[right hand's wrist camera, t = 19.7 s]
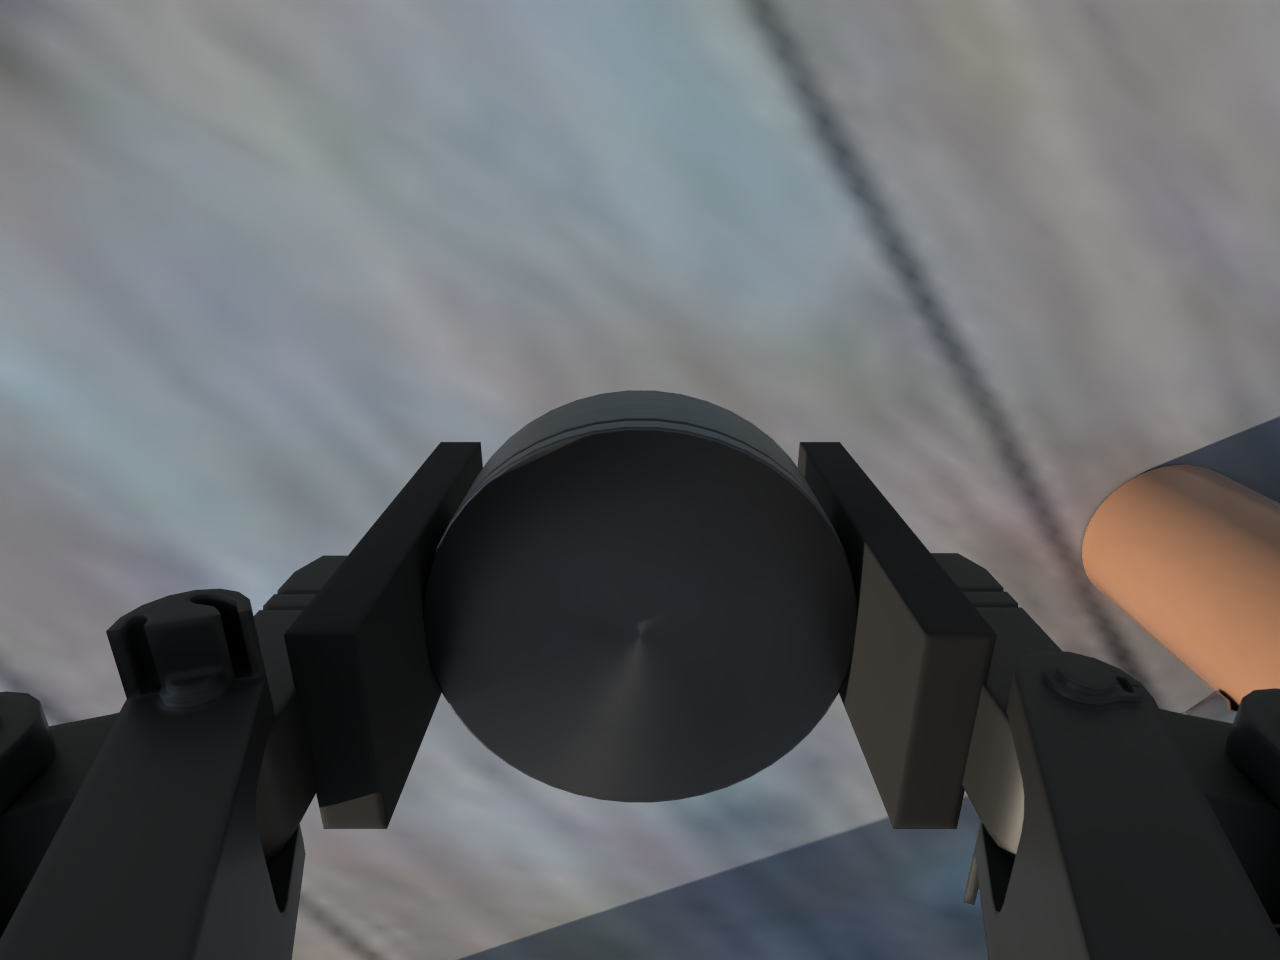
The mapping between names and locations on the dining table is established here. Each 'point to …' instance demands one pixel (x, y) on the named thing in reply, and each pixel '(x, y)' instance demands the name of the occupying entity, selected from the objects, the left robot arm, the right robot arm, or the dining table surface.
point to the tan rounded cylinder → (1195, 572)
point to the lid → (640, 600)
